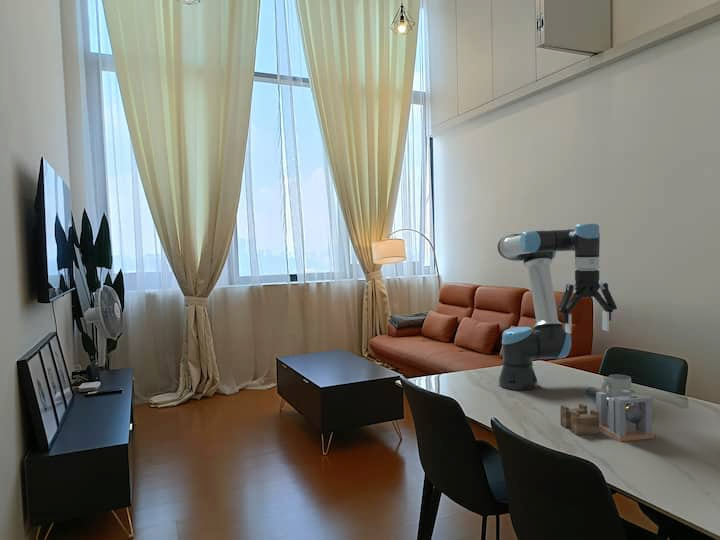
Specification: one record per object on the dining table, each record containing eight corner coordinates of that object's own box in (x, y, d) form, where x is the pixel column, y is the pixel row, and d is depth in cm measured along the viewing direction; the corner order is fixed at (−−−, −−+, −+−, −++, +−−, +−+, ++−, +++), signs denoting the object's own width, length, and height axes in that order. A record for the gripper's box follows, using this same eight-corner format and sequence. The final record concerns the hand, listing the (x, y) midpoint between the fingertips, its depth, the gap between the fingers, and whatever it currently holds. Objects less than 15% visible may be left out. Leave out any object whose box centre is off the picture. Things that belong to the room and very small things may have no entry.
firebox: (582, 419, 163) (581, 382, 162) (613, 416, 164) (613, 380, 164) (619, 441, 144) (619, 400, 144) (654, 438, 145) (654, 397, 145)
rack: (560, 424, 159) (560, 404, 158) (582, 422, 160) (582, 403, 159) (576, 435, 150) (576, 414, 150) (599, 433, 151) (599, 412, 150)
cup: (635, 404, 175) (634, 379, 175) (605, 404, 176) (605, 379, 176) (626, 398, 183) (625, 374, 182) (597, 398, 184) (597, 374, 183)
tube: (586, 402, 166) (583, 389, 165) (599, 398, 166) (596, 385, 166) (631, 425, 144) (627, 410, 143) (645, 420, 144) (641, 405, 144)
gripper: (558, 272, 163) (558, 336, 165) (628, 268, 166) (628, 331, 168) (546, 270, 171) (546, 331, 172) (614, 267, 174) (613, 327, 175)
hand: (586, 331), depth 170 cm, fingers open, 13 cm apart
